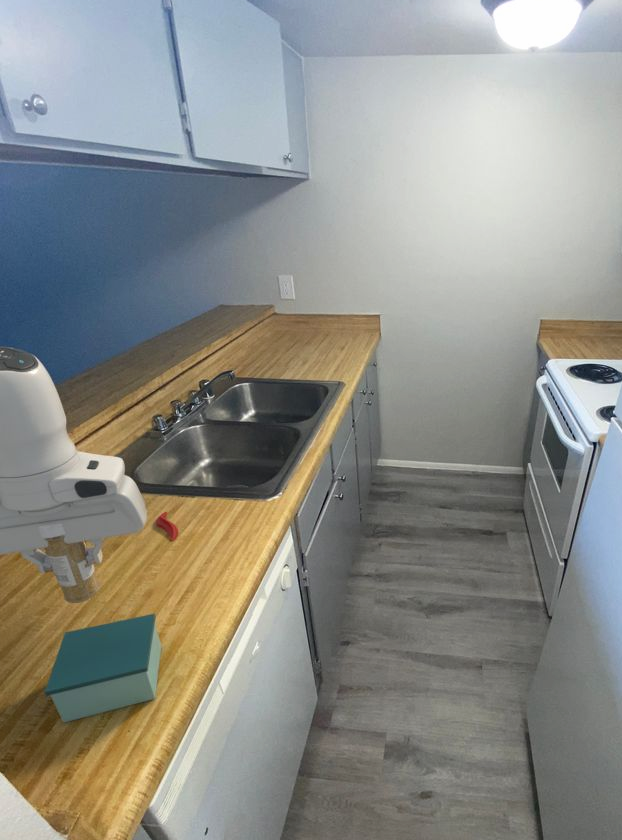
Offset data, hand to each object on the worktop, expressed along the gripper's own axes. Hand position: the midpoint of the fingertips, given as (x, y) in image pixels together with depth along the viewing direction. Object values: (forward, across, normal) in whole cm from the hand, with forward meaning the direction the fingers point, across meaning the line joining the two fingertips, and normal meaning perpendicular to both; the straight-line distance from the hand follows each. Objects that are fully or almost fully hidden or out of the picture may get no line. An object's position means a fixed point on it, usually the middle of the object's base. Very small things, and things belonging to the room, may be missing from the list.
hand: (73, 565), depth 65 cm
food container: (+23, 0, -1) cm, 23 cm away
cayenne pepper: (+23, +5, +39) cm, 45 cm away
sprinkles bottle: (+5, 0, 0) cm, 5 cm away
